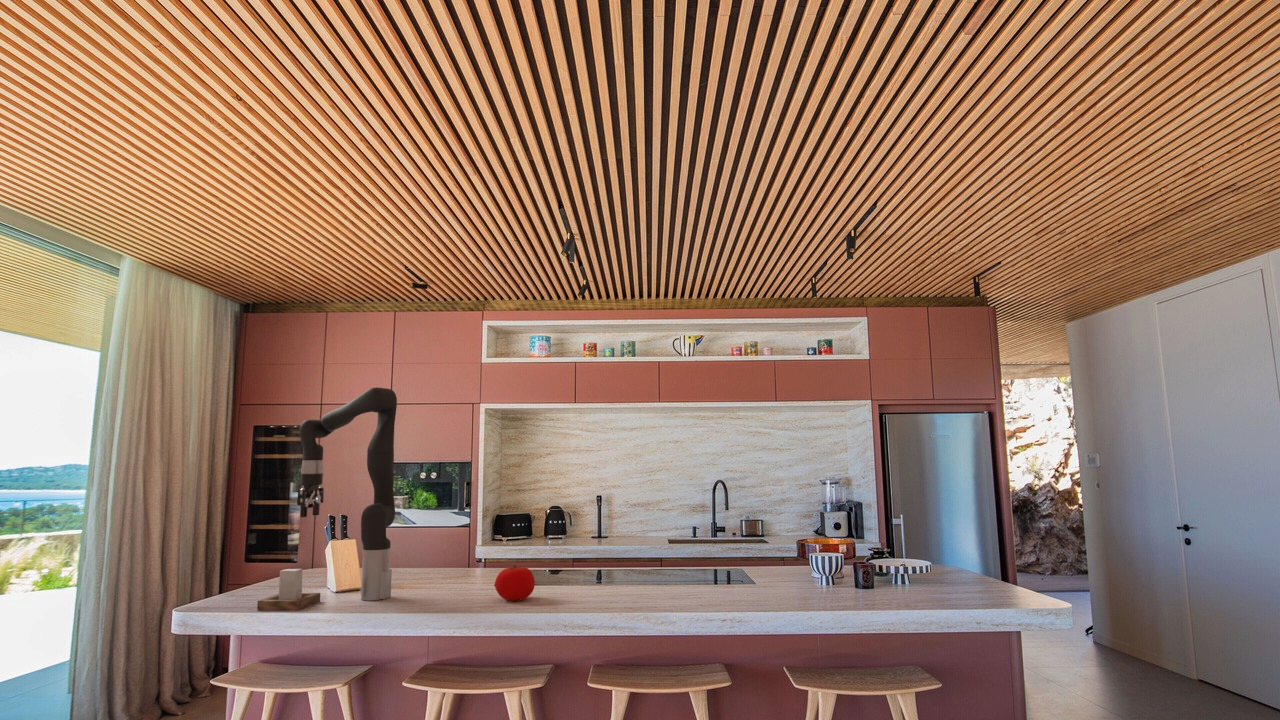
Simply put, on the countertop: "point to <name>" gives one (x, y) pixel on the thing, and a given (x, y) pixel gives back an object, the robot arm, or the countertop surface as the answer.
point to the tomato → (515, 583)
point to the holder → (288, 602)
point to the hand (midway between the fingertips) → (309, 516)
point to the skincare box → (290, 584)
